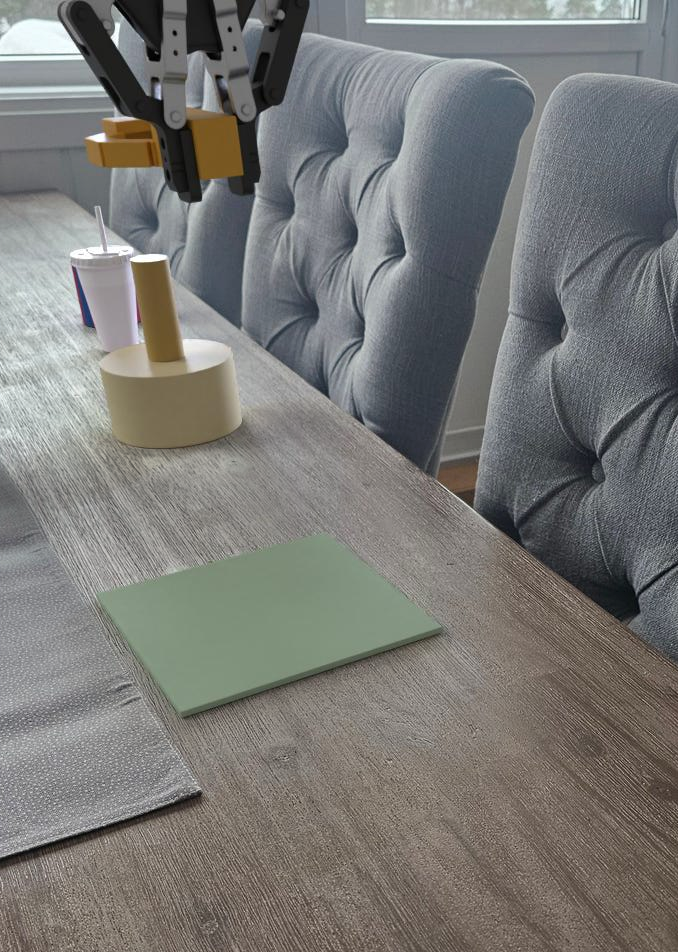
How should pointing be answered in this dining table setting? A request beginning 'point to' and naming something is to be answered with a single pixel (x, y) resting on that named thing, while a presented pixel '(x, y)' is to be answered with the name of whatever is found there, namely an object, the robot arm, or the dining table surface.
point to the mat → (261, 620)
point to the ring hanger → (139, 148)
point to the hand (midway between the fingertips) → (216, 196)
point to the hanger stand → (168, 374)
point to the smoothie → (109, 290)
